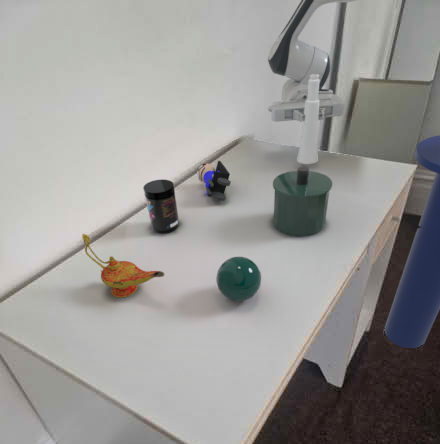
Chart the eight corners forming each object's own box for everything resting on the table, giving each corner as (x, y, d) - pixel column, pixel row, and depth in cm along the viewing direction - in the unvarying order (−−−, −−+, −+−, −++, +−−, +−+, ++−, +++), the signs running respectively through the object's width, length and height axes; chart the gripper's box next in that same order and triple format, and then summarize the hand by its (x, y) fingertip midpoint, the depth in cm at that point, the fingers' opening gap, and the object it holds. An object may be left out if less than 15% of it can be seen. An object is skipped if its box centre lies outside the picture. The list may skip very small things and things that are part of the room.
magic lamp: (159, 315, 66) (147, 266, 59) (84, 289, 73) (65, 242, 65) (179, 292, 70) (171, 243, 63) (106, 270, 77) (91, 223, 70)
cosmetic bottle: (316, 164, 106) (325, 77, 91) (295, 163, 107) (300, 77, 93) (318, 156, 110) (327, 72, 95) (298, 155, 111) (304, 72, 97)
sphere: (236, 317, 64) (234, 281, 59) (209, 294, 69) (205, 259, 64) (270, 297, 68) (271, 262, 62) (242, 276, 73) (241, 242, 67)
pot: (297, 206, 92) (300, 169, 86) (334, 223, 85) (341, 184, 79) (263, 222, 87) (263, 184, 81) (299, 242, 80) (303, 202, 74)
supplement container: (163, 217, 92) (156, 177, 86) (185, 223, 89) (179, 182, 83) (146, 230, 88) (136, 189, 81) (168, 237, 85) (160, 195, 78)
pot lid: (300, 170, 87) (302, 152, 84) (344, 187, 79) (347, 168, 76) (260, 187, 82) (260, 169, 79) (303, 207, 74) (305, 187, 71)
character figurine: (209, 208, 95) (198, 185, 106) (236, 202, 95) (222, 179, 107) (204, 180, 90) (192, 158, 101) (233, 173, 90) (218, 152, 101)
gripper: (267, 95, 108) (274, 108, 98) (337, 89, 108) (351, 101, 98) (267, 118, 113) (273, 133, 102) (334, 112, 112) (347, 126, 102)
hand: (312, 117), depth 100 cm, fingers closed on cosmetic bottle, 3 cm apart
